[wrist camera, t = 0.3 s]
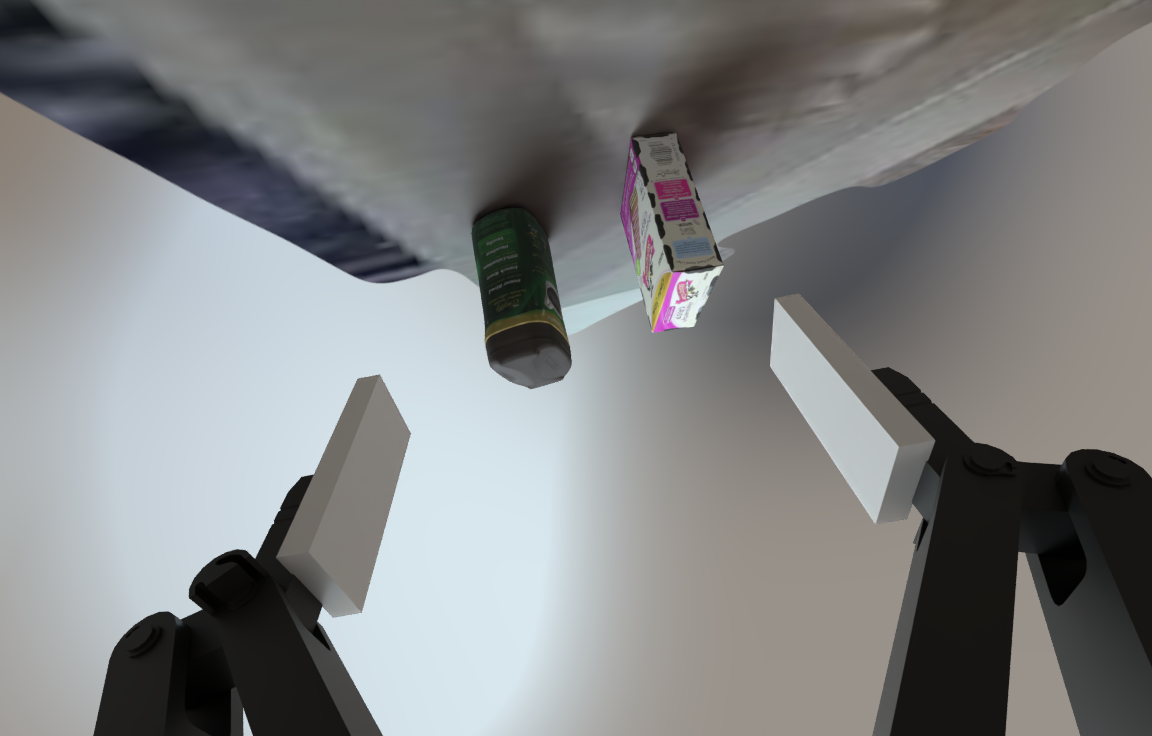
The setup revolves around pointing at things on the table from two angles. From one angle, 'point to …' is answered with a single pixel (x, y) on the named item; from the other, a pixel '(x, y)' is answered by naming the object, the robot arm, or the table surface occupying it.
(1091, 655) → the robot arm
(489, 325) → the coffee jar
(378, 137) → the table surface
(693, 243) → the candy bar box
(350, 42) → the table surface
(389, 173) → the table surface
